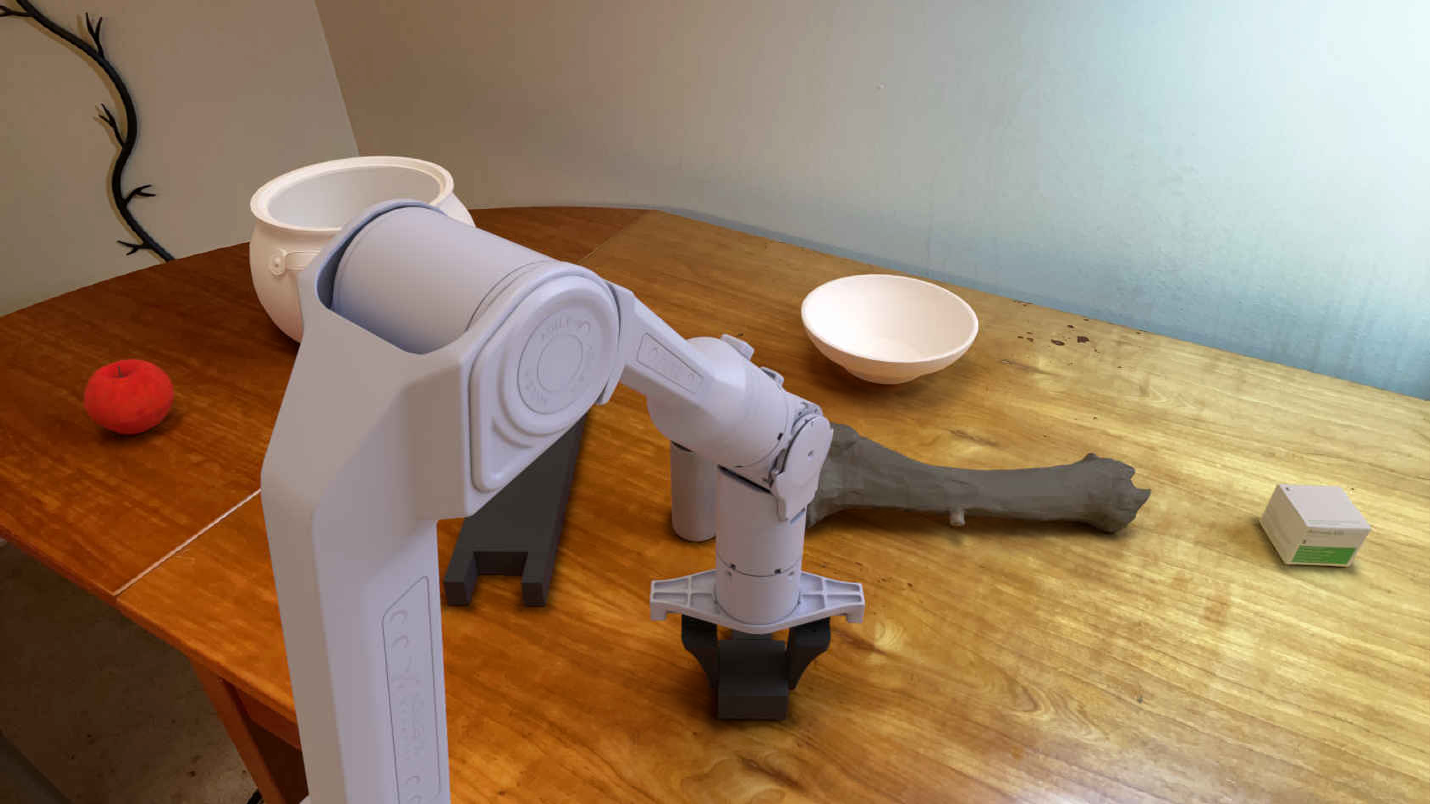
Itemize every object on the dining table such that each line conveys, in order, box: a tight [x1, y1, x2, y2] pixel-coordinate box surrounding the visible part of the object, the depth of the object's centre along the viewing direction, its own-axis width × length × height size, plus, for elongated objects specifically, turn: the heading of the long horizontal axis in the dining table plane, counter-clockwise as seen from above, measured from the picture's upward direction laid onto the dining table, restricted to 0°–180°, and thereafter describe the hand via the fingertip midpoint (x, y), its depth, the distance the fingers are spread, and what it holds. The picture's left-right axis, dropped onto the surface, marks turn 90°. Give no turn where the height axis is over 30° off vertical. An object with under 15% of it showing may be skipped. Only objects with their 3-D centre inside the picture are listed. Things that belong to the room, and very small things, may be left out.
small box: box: [1258, 483, 1372, 568], centre depth 80 cm, size 6×6×5 cm
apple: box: [83, 358, 175, 436], centre depth 92 cm, size 8×8×7 cm
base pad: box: [442, 412, 587, 607], centre depth 90 cm, size 40×8×3 cm, turn 179°
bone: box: [805, 421, 1152, 534], centre depth 82 cm, size 32×10×9 cm, turn 87°
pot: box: [249, 155, 477, 344], centre depth 110 cm, size 29×26×16 cm
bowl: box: [800, 273, 979, 385], centre depth 103 cm, size 20×20×7 cm
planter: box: [669, 439, 717, 542], centre depth 80 cm, size 4×4×10 cm
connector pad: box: [717, 628, 790, 720], centre depth 68 cm, size 8×5×3 cm, turn 179°
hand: (752, 678), depth 67 cm, fingers closed on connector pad, 5 cm apart
